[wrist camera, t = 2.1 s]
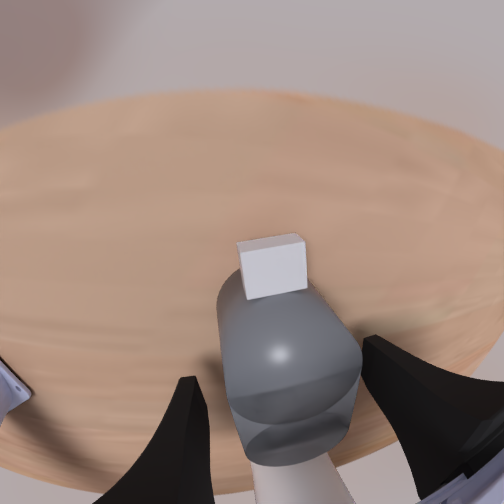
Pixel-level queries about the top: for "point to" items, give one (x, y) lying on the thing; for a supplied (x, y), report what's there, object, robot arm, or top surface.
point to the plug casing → (284, 356)
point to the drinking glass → (300, 483)
